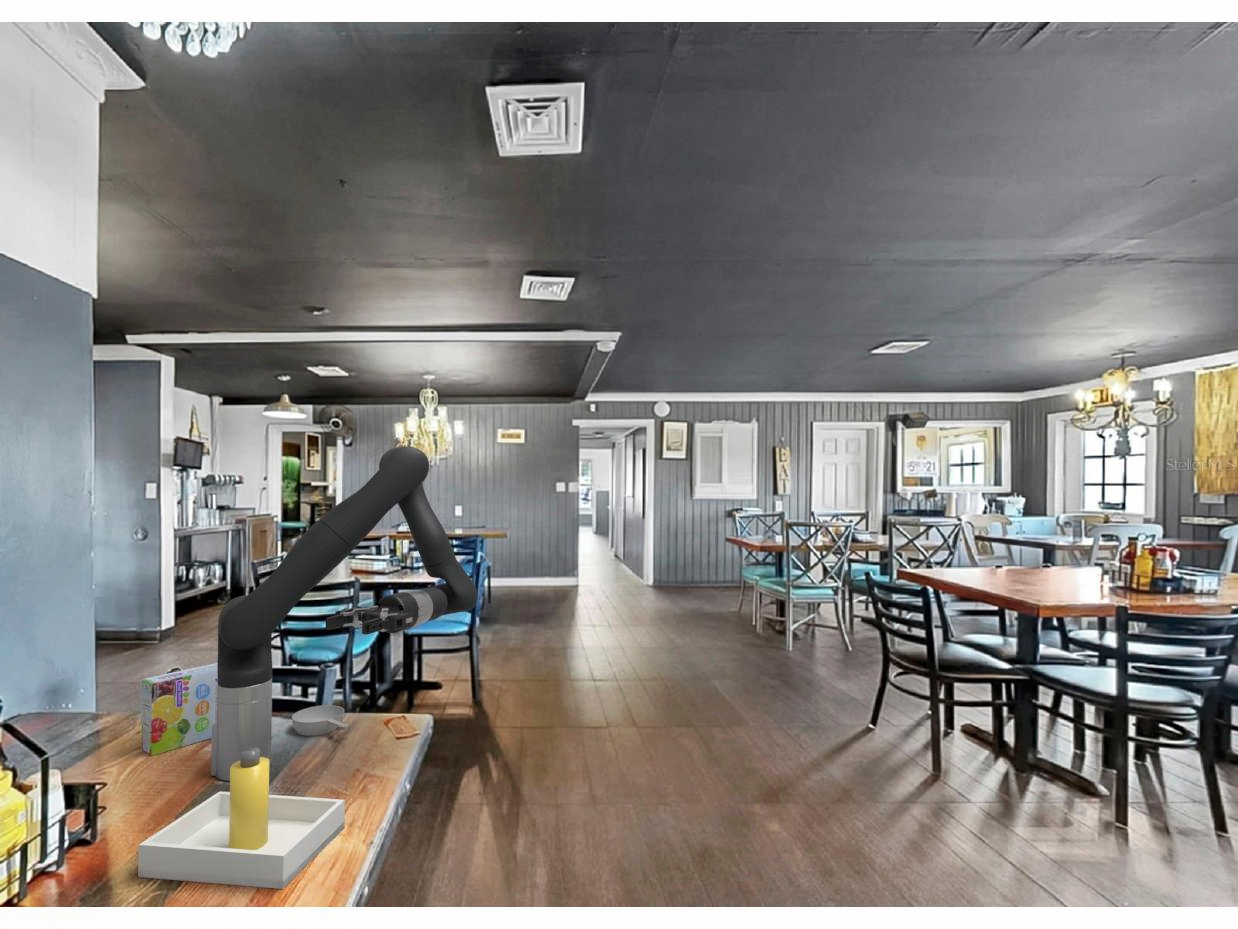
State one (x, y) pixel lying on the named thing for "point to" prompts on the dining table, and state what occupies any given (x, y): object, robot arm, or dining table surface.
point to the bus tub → (205, 855)
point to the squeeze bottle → (249, 801)
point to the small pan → (318, 720)
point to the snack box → (178, 708)
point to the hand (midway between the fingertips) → (345, 626)
